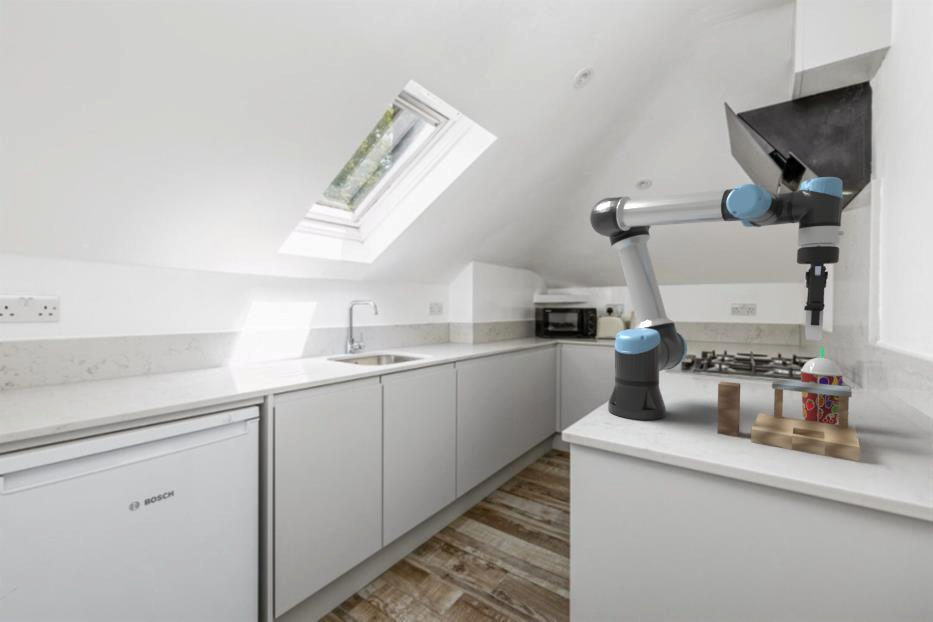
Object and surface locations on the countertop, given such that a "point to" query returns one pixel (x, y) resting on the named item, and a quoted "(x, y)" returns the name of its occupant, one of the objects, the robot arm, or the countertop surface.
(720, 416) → the peg
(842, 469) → the countertop surface
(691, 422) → the countertop surface
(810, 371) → the smoothie
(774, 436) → the socket board
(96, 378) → the countertop surface
